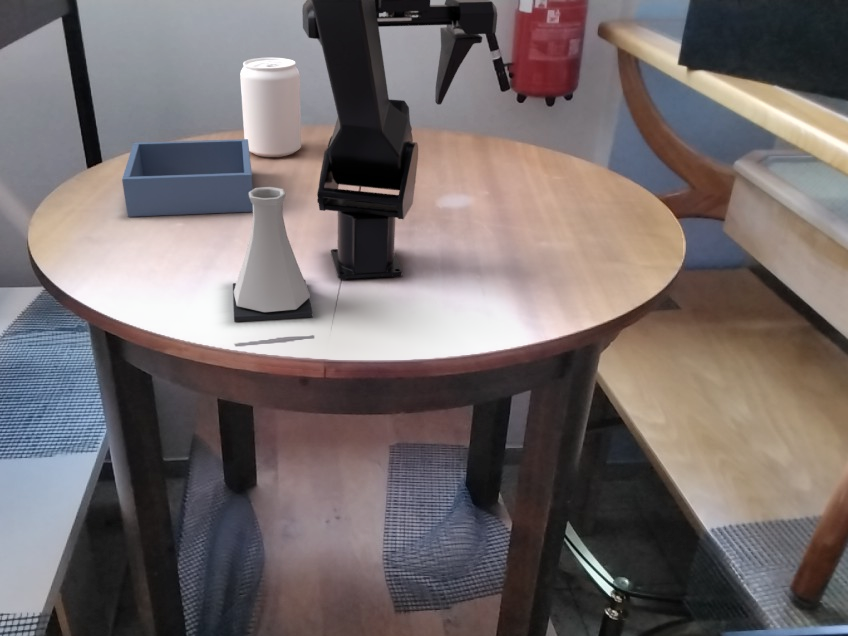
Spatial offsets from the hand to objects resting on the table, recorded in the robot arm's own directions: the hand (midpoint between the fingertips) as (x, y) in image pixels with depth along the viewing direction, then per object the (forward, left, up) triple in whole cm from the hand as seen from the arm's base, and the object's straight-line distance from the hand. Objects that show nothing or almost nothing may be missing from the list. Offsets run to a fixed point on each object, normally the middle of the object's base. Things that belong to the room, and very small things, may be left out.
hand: (395, 105), depth 83 cm
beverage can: (+30, +12, -13) cm, 35 cm away
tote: (+13, +23, -13) cm, 29 cm away
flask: (-18, +15, -13) cm, 26 cm away
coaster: (-18, +15, -13) cm, 27 cm away
